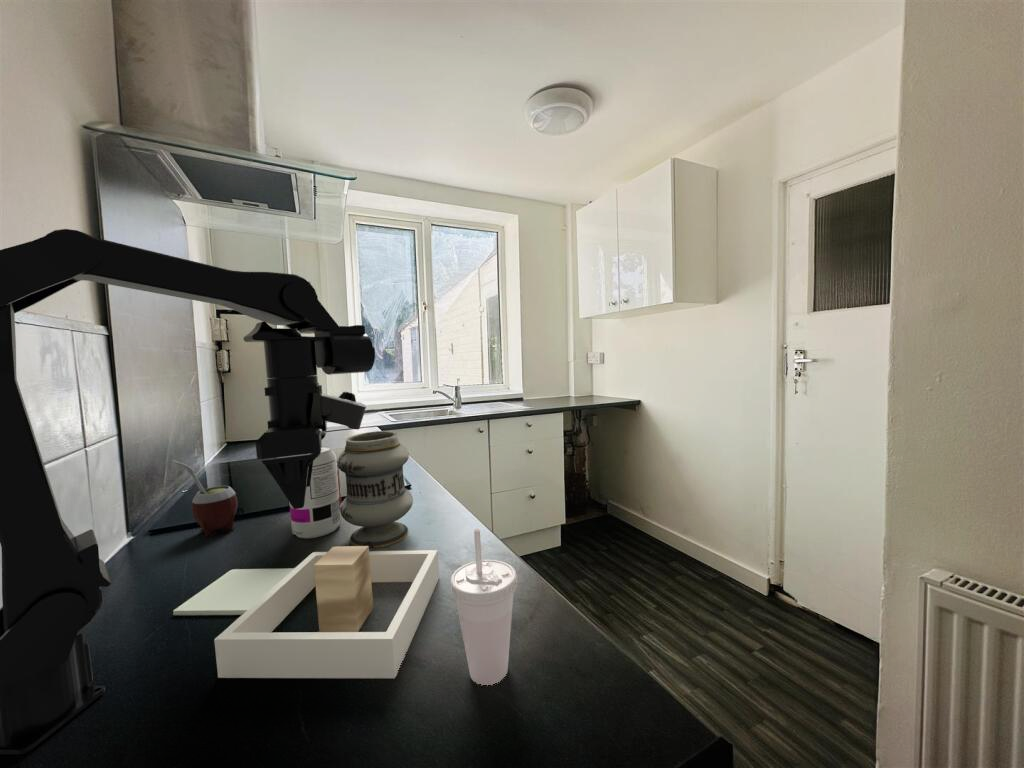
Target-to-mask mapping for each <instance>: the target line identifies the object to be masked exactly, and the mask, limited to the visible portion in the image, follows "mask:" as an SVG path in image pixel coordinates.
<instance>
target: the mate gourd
mask: <svg viewBox="0 0 1024 768" xmlns="http://www.w3.org/2000/svg"><path fill="white" fill-rule="evenodd" d="M170 462H172V463H174V464H176V465H178V466H180V467H182V468H184V469H185V470H186V471H187V473H188V474H189V475H190V476H191V477H192V479H193V481H194V482H195V484H196V486H197V487H198V489H199V491H197V492H196V494H195V495H194V497H193V498H192V501H191V502H192V503H191V511H192V516H193V518H194V520H195V522H196V523H197V524H198V525H199V526H200V527H201V529H200V533H201V532H205V535H203V539H204V538H206V539H209V538H211V537H212V535H213V534H214V535H215V533H216V534H218V533H223V532H222V531H232V532H234V531H235V529H236V528H235V527H234V521H235V515H236V513H237V511H238V507H239V501H238V500H239V499H238V496H237V492H235V490H234V489H233V488H232V487H231V486H229V485H219V486H218V485H217V486H212V487H207V488H204V487H203V485H202V484H201V482H200V480H199V479H198V476H197V475H196V474H195V470H194V469H193V468H192V467H191V466H189V465H187V464H185V463H183V462H179V461H177V460H173V459H171V460H170ZM233 530H234V531H233ZM217 532H218V533H217ZM214 535H213V536H214ZM210 536H211V537H210Z"/></svg>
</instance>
